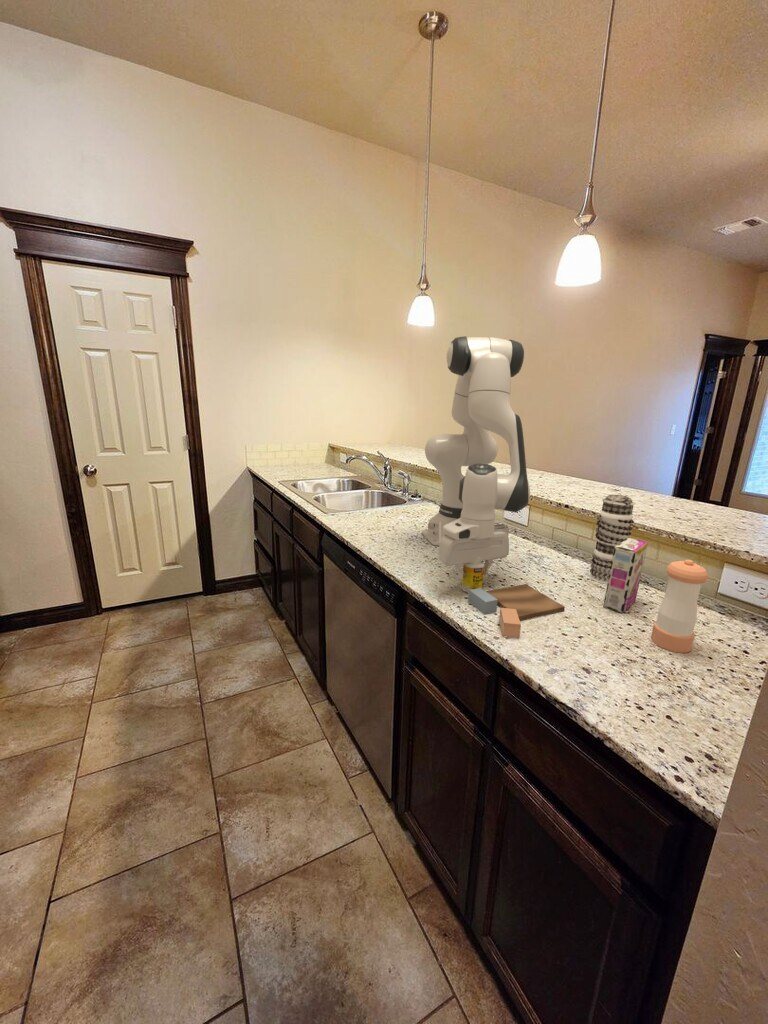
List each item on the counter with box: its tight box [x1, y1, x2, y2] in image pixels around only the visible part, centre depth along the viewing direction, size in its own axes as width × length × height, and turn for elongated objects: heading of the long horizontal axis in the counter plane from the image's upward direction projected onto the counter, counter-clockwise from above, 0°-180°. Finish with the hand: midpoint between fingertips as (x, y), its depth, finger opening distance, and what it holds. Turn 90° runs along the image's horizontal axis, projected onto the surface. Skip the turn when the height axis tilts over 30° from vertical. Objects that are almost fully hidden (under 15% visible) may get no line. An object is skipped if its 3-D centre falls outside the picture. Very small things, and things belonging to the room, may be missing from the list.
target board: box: [485, 583, 566, 622], centre depth 105 cm, size 14×14×1 cm
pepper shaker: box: [650, 559, 709, 654], centre depth 86 cm, size 7×7×19 cm
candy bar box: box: [602, 537, 649, 614], centre depth 104 cm, size 11×5×16 cm, turn 135°
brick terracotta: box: [498, 607, 522, 639], centre depth 93 cm, size 7×4×4 cm, turn 171°
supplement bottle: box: [461, 557, 485, 594], centre depth 111 cm, size 6×6×10 cm
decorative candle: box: [588, 494, 636, 585], centre depth 118 cm, size 9×9×25 cm
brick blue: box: [467, 587, 498, 615], centre depth 103 cm, size 7×4×4 cm, turn 23°
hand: (472, 575), depth 111 cm, fingers closed on supplement bottle, 5 cm apart
